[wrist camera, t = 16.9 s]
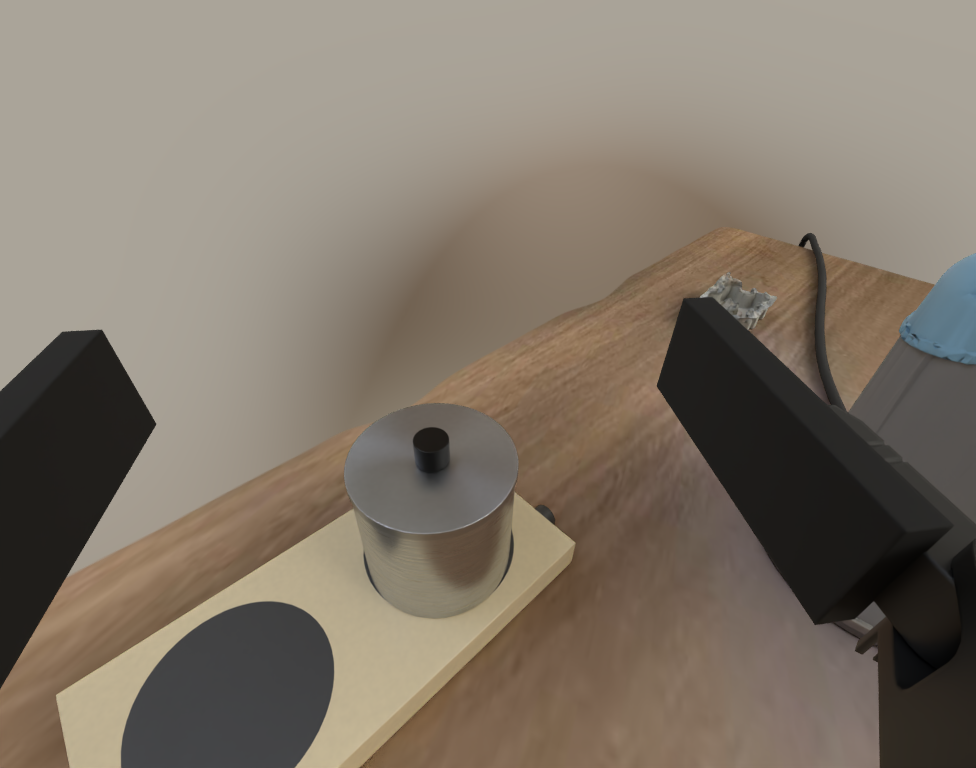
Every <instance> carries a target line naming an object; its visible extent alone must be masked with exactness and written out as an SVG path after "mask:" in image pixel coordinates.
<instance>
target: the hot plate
mask: <svg viewBox="0 0 976 768" xmlns="http://www.w3.org/2000/svg"><path fill="white" fill-rule="evenodd" d="M554 523H555V518H554V515H553V513H552V512H551V511H550V510H549V509H548V508H547V507H546V506H544V505H539V506H537V507H536V508H535V509H534V508H533V507H532V506H531V505H529V504H528V503H527V502H526V501H525V500H524V499H522V498H521V497H520V496H519V495H518V494H516V493H515V492H514V504H513V516H512V528H511V540H510V552H509V560H508V565H507V568H506V572H505V574H504V576H503V578H502V580H501V582H500V583H499V585H498V586H497V588H496V589H495V590H494V591H493V593H492V594H491V595H490V596H489V597H488V598H487V599H485V600H484V601H483V602H482V603H480V604H479V605H477V606H476V607H474V608H472V609H470V610H468V611H466V612H464V613H461V614H458V615H455V616H451V617H446V618H423V617H418V616H413V615H411V614H408V613H405V612H403V611H401V610H399V609H397V608H395V607H394V606H393V605H391V604H390V603H389V602H388V601H387V600H385V599H384V598H383V597H382V595H381V594H380V593H379V591H378V590H377V588H376V587H375V585H374V583H373V581H372V578H371V575H370V571H369V567H368V564H367V560H366V556H365V552H364V548H363V544H362V540H361V536H360V533H359V529H358V525H357V521H356V517H355V513H354V509H352V510H350V511H349V512H347V513H345V514H344V515H342V516H341V517H339V518H337V519H336V520H334V521H333V522H331V523H329V524H328V525H326V526H325V527H323V528H321V529H320V530H318V531H317V532H315V533H313V534H312V535H310V536H309V537H307V538H305V539H304V540H302V541H301V542H299V543H298V544H296V545H294V546H293V547H291V548H290V549H288V550H286V551H285V552H283V553H282V554H280V555H278V556H277V557H275V558H274V559H272V560H270V561H269V562H267V563H266V564H264V565H262V566H261V567H259V568H258V569H256V570H254V571H253V572H251V573H250V574H248V575H246V576H245V577H243V578H242V579H240V580H239V581H237V582H235V583H234V584H232V585H231V586H229V587H227V588H226V589H224V590H223V591H221V592H219V593H218V594H216V595H215V596H213V597H211V598H210V599H208V600H207V601H205V602H203V603H202V604H200V605H199V606H197V607H195V608H194V609H192V610H191V611H189V612H188V613H186V614H184V615H183V616H181V617H180V618H178V619H176V620H175V621H173V622H172V623H170V624H168V625H167V626H165V627H164V628H162V629H160V630H159V631H157V632H156V633H154V634H152V635H151V636H149V637H148V638H146V639H144V640H143V641H141V642H140V643H138V644H136V645H135V646H133V647H132V648H130V649H129V650H127V651H125V652H124V653H122V654H121V655H119V656H117V657H116V658H114V659H113V660H111V661H109V662H108V663H106V664H105V665H103V666H101V667H100V668H98V669H97V670H95V671H93V672H92V673H90V674H89V675H87V676H85V677H84V678H82V679H81V680H79V681H77V682H76V683H74V684H73V685H71V686H70V687H68V688H66V689H65V690H63V691H62V692H60V693H58V694H57V695H56V700H57V705H58V710H59V715H60V721H61V726H62V731H63V736H64V741H65V746H66V751H67V756H68V762H69V767H70V768H359V767H361V766H362V765H363V764H364V763H365V762H366V761H367V760H368V759H369V758H370V757H371V756H372V755H373V754H374V753H375V752H376V751H377V750H378V749H379V748H380V747H381V746H382V745H383V744H384V743H385V742H386V741H387V740H388V739H389V738H390V737H391V736H393V735H394V734H395V733H396V732H397V731H398V730H399V729H400V728H401V727H402V726H403V725H404V724H405V723H406V722H407V721H408V720H409V719H410V718H411V717H412V716H413V715H414V714H415V713H416V712H417V711H418V710H419V709H420V708H421V707H422V706H423V705H424V704H426V703H427V702H428V701H429V700H430V699H431V698H432V697H433V696H434V695H435V694H436V693H437V692H438V691H439V690H440V689H441V688H442V687H443V686H444V685H445V684H446V683H447V682H448V681H449V680H450V679H451V678H452V677H453V676H454V675H455V674H456V673H457V672H459V671H460V670H461V669H462V668H463V667H464V666H465V665H466V664H467V663H468V662H469V661H470V660H471V659H472V658H473V657H474V656H475V655H476V654H477V653H478V652H479V651H480V650H481V649H482V648H483V647H484V646H485V645H486V644H487V643H488V642H489V641H491V640H492V639H493V638H494V637H495V636H496V635H497V634H498V633H499V632H500V631H501V630H502V629H503V628H504V627H505V626H506V625H507V624H508V623H509V622H510V621H511V620H512V619H513V618H514V617H515V616H516V615H517V614H518V613H519V612H520V611H521V610H522V609H524V608H525V607H526V606H527V605H528V604H529V603H530V602H531V601H532V600H533V599H534V598H535V597H536V596H537V595H538V594H539V593H540V592H541V591H542V590H543V589H544V588H545V587H546V586H547V585H548V584H549V583H550V582H551V581H552V580H553V579H554V578H556V577H557V576H558V575H559V574H560V573H561V572H562V571H563V570H564V569H565V568H566V567H567V566H568V565H569V564H570V563H571V561H572V556H573V552H574V548H575V542H574V541H573V540H571V539H570V538H569V537H568V536H567V535H565V534H564V533H563V532H562V531H561V530H559V529H558V528H557V527H556V526H555V525H554Z"/></svg>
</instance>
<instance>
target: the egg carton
mask: <svg viewBox="0 0 976 768" xmlns="http://www.w3.org/2000/svg"><path fill="white" fill-rule="evenodd" d="M741 289H742V282H741V281H740V280H738V279H735V278H734V279H733V278H732V277H731V276H730V272H729V273H727V274H726V275H725V274H724V275H723V276H722V277H721V278H720V279H719V280H718V281H717V282H716V284H715V285H714V286H712V287H710V288H709V290H708V291H707V292H705V293H704V294H703V295H701V297H700V298H703V297H713V298H714V299H716V300H717V301H718V302H719V303H720V304H721V305H722V306H723V307H724V308H725V309H726V310H727V311H728V312H729V313H730V314H731V315H732V316H734V317H735V318H736V319H737V320H738V321H739V322H740V323H741V324H742V325H743V326H744V327H745V328H746V329H747V330H749V328H751V329H753V328H754V327H755V326H756V324H757V321H758V319H763V318H764V316H765V314H766V312H767V309H768V307H770V306H771V305H772V304H773V303H774V301H775V300H776V299H777V297H776V296H770V295H769V294H767V292H765V293H760V292H758V291H757V290H756V288H753V289H751V292H748V291H745V290H741Z"/></svg>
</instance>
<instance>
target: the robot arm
mask: <svg viewBox="0 0 976 768" xmlns="http://www.w3.org/2000/svg"><path fill="white" fill-rule="evenodd" d="M808 240H809V241H810V244H811V247H812V250H813V252H814V254H815V257H816V262H817V268H818V294H817V303H816V315H815V347H816V357H817V363H818V367H819V371H820V375H821V379H822V382H823V385H824V388H825V391H826V393H827V396H828V398H829V401H830V403H831V405H827V404H826V403H824V402H823V401H822V400H821V399H820V398H819V397H818V396H817V395H816V394H815V393H814V392H813V391H812V390H811V389H810V388H809V387H808V386H806V385H805V384H804V383H803V382H802V381H801V380H800V379H799V378H798V377H797V376H796V375H795V374H794V373H793V372H792V371H791V370H790V369H789V368H787V367H786V366H785V365H784V364H783V363H782V362H781V361H780V360H779V359H778V358H777V357H776V356H775V355H774V354H773V353H772V352H771V351H769V350H768V349H767V348H766V347H765V346H764V345H763V344H762V343H761V342H760V341H759V340H758V339H757V338H756V337H755V336H754V335H753V334H751V333H750V332H749V331H748V330H747V329H746V328H745V327H744V326H743V325H742V324H741V323H740V322H739V321H738V320H737V319H736V318H735V317H734V316H732V315H731V314H730V313H729V312H728V311H727V310H726V309H725V308H724V307H723V306H722V305H721V304H720V303H719V302H718V301H717V300H716V299H714V298H713V297H703V298H684V299H683V302H682V306H681V309H680V312H679V315H678V318H677V322H676V325H675V328H674V331H673V335H672V338H671V341H670V344H669V348H668V351H667V354H666V357H665V361H664V364H663V367H662V370H661V374H660V377H659V380H658V383H657V387H658V389H659V390H660V392H661V393H662V395H663V396H664V398H665V399H666V401H667V402H668V404H669V405H670V407H671V408H672V410H673V411H674V413H675V415H676V416H677V418H678V419H679V421H680V422H681V424H682V425H683V427H684V428H685V430H686V431H687V433H688V434H689V436H690V437H691V439H692V440H693V442H694V443H695V445H696V446H697V448H698V449H699V451H700V452H701V454H702V455H703V457H704V458H705V460H706V461H707V463H708V464H709V466H710V467H711V469H712V470H713V472H714V473H715V475H716V476H717V478H718V479H719V481H720V482H721V484H722V485H723V487H724V488H725V490H726V491H727V493H728V494H729V496H730V497H731V499H732V500H733V502H734V503H735V505H736V507H737V508H738V510H739V511H740V513H741V514H742V516H743V517H744V519H745V520H746V522H747V523H748V525H749V526H750V528H751V529H752V531H753V532H754V534H755V535H756V537H757V538H758V540H759V541H760V543H761V544H762V546H763V547H764V549H765V550H766V552H767V553H768V555H769V557H770V559H771V560H772V562H773V563H774V565H775V567H776V568H777V569H778V571H779V572H780V573H781V575H782V576H783V577H784V579H785V580H786V582H787V583H788V585H789V586H790V588H791V589H792V591H793V592H794V594H795V595H796V597H797V599H798V600H799V602H800V603H801V605H802V606H803V608H804V609H805V611H806V612H807V614H808V615H809V617H810V618H811V620H812V621H813V623H814V624H815V625H818V624H825V623H832V622H834V623H836V624H837V625H839V626H840V627H842V628H843V629H845V630H846V631H848V632H850V633H852V634H854V635H855V636H857V637H859V638H861V639H860V640H858V643H857V646H856V649H855V651H856V652H858V653H860V654H863V653H865V652H866V651H867V650H868V649H869V648H871V647H872V646H873V645H876V646H878V654H877V655H876V656H875V657H874V658H873V660H874V661H876V662H878V683H879V744H880V768H976V253H975V254H973V255H970V256H968V257H966V258H964V259H962V260H960V261H959V262H957V263H956V264H954V265H953V266H952V267H950V268H949V269H948V270H947V271H946V272H945V273H944V274H943V275H942V276H941V278H940V279H939V280H938V282H937V283H936V284H935V286H934V287H933V288H932V290H931V291H930V292H929V294H928V295H927V296H926V298H925V299H924V300H923V302H922V303H921V304H920V306H919V307H918V308H917V310H916V311H914V312H913V313H911V314H910V315H909V316H908V317H907V318H906V319H905V320H904V321H903V323H902V325H901V327H900V329H899V332H900V334H901V336H900V337H899V339H898V340H897V342H896V343H895V344H894V346H893V347H892V349H891V350H890V352H889V353H888V355H887V356H886V358H885V359H884V361H883V362H882V364H881V365H880V366H879V368H878V369H877V371H876V372H875V374H874V375H873V377H872V378H871V380H870V381H869V383H868V384H867V385H866V387H865V388H864V390H863V391H862V393H861V394H860V396H859V397H858V399H857V400H856V402H855V403H854V404H853V406H852V407H851V409H850V410H849V412H847V411H846V409H845V407H844V404H843V402H842V400H841V398H840V396H839V393H838V391H837V389H836V386H835V384H834V381H833V378H832V375H831V372H830V369H829V365H828V361H827V355H826V347H825V335H824V318H825V300H826V270H825V264H824V259H823V255H822V252H821V250H820V247H819V245H818V243H817V240H816V237H815V235H814V234H812V233H808V234H806V235H805V236H804V237H803V238H802V240H801V242H800V243H799V245H798V246H800V247H803V248H804V246H805V245H806V242H807V241H808ZM155 426H156V423H155V421H154V419H153V417H152V416H151V414H150V412H149V410H148V409H147V407H146V405H145V404H144V402H143V400H142V398H141V397H140V395H139V393H138V391H137V390H136V388H135V386H134V384H133V383H132V381H131V379H130V377H129V376H128V374H127V372H126V371H125V369H124V367H123V365H122V364H121V362H120V360H119V358H118V357H117V355H116V353H115V351H114V350H113V348H112V346H111V345H110V343H109V341H108V339H107V338H106V336H105V334H104V332H103V331H102V330H87V331H70V332H69V331H68V332H62V333H61V334H60V335H59V336H58V337H56V338H55V339H54V340H53V341H52V342H51V343H50V344H49V345H48V346H47V347H46V348H45V349H44V350H43V351H42V352H41V353H40V354H39V355H38V356H37V357H36V358H35V359H33V360H32V361H31V362H30V363H29V364H28V365H27V366H26V367H25V368H24V369H23V370H22V371H21V372H20V373H19V374H18V375H17V376H16V377H15V378H14V379H13V380H12V381H11V382H9V384H7V385H6V386H5V387H4V388H3V389H2V390H1V391H0V688H1V687H2V685H3V683H4V682H5V680H6V678H7V677H8V675H9V673H10V671H11V670H12V668H13V666H14V665H15V663H16V661H17V660H18V658H19V656H20V655H21V653H22V651H23V649H24V648H25V646H26V644H27V643H28V641H29V639H30V638H31V636H32V634H33V632H34V631H35V629H36V627H37V626H38V624H39V622H40V621H41V619H42V617H43V616H44V614H45V612H46V610H47V609H48V607H49V605H50V604H51V602H52V600H53V599H54V597H55V595H56V594H57V592H58V590H59V588H60V587H61V585H62V583H63V582H64V580H65V578H66V577H67V575H68V573H69V571H70V570H71V568H72V566H73V565H74V563H75V561H76V560H77V558H78V556H79V554H80V553H81V551H82V549H83V548H84V546H85V544H86V543H87V541H88V539H89V538H90V536H91V534H92V533H93V531H94V529H95V527H96V526H97V524H98V522H99V521H100V519H101V517H102V516H103V514H104V512H105V510H106V509H107V507H108V505H109V504H110V502H111V500H112V499H113V497H114V495H115V494H116V492H117V490H118V489H119V487H120V485H121V483H122V482H123V480H124V478H125V477H126V475H127V473H128V472H129V470H130V468H131V467H132V465H133V463H134V461H135V460H136V458H137V456H138V455H139V453H140V451H141V450H142V448H143V446H144V444H145V443H146V441H147V439H148V437H149V436H150V434H151V433H152V431H153V429H154V428H155Z"/></svg>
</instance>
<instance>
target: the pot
mask: <svg viewBox="0 0 976 768" xmlns="http://www.w3.org/2000/svg"><path fill="white" fill-rule="evenodd" d="M517 476H518V455H517V451H516V448H515V445H514V443H513V441H512V439H511V437H510V436H509V434H508V433H507V432H506V431H505V429H504V428H503V427H502V426H501V425H500V424H499V423H497V422H496V421H495V420H493V419H492V418H490V417H489V416H487V415H485V414H483V413H481V412H479V411H477V410H474V409H471V408H468V407H464V406H460V405H454V404H444V403H431V404H421V405H415V406H411V407H407V408H404V409H400V410H397V411H395V412H393V413H390V414H388V415H386V416H384V417H382V418H381V419H379V420H378V421H376V422H374V423H373V424H372V425H371V426H369V427H368V428H367V429H366V430H365V431H364V432H363V433H362V434H361V435H360V436H359V437H358V438H357V440H356V441H355V442H354V444H353V446H352V447H351V449H350V451H349V453H348V456H347V459H346V463H345V468H344V480H345V486H346V490H347V493H348V496H349V499H350V501H351V503H352V505H353V509H354V513H355V517H356V521H357V525H358V529H359V533H360V536H361V540H362V544H363V548H364V552H365V556H366V560H367V564H368V567H369V571H370V575H371V578H372V581H373V583H374V585H375V587H376V588H377V590H378V591H379V593H380V594H381V595H382V597H383V598H384V599H385V600H387V601H388V602H389V603H390V604H391V605H393V606H394V607H395V608H397V609H399V610H401V611H403V612H405V613H408V614H411V615H413V616H418V617H423V618H446V617H451V616H455V615H458V614H461V613H464V612H466V611H468V610H470V609H472V608H474V607H476V606H477V605H479V604H480V603H482V602H483V601H484V600H485V599H487V598H488V597H489V596H490V595H491V594H492V593H493V591H494V590H495V589H496V588H497V586H498V585H499V583H500V582H501V580H502V578H503V576H504V574H505V572H506V568H507V565H508V560H509V552H510V540H511V528H512V516H513V504H514V492H515V485H516V482H517Z"/></svg>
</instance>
